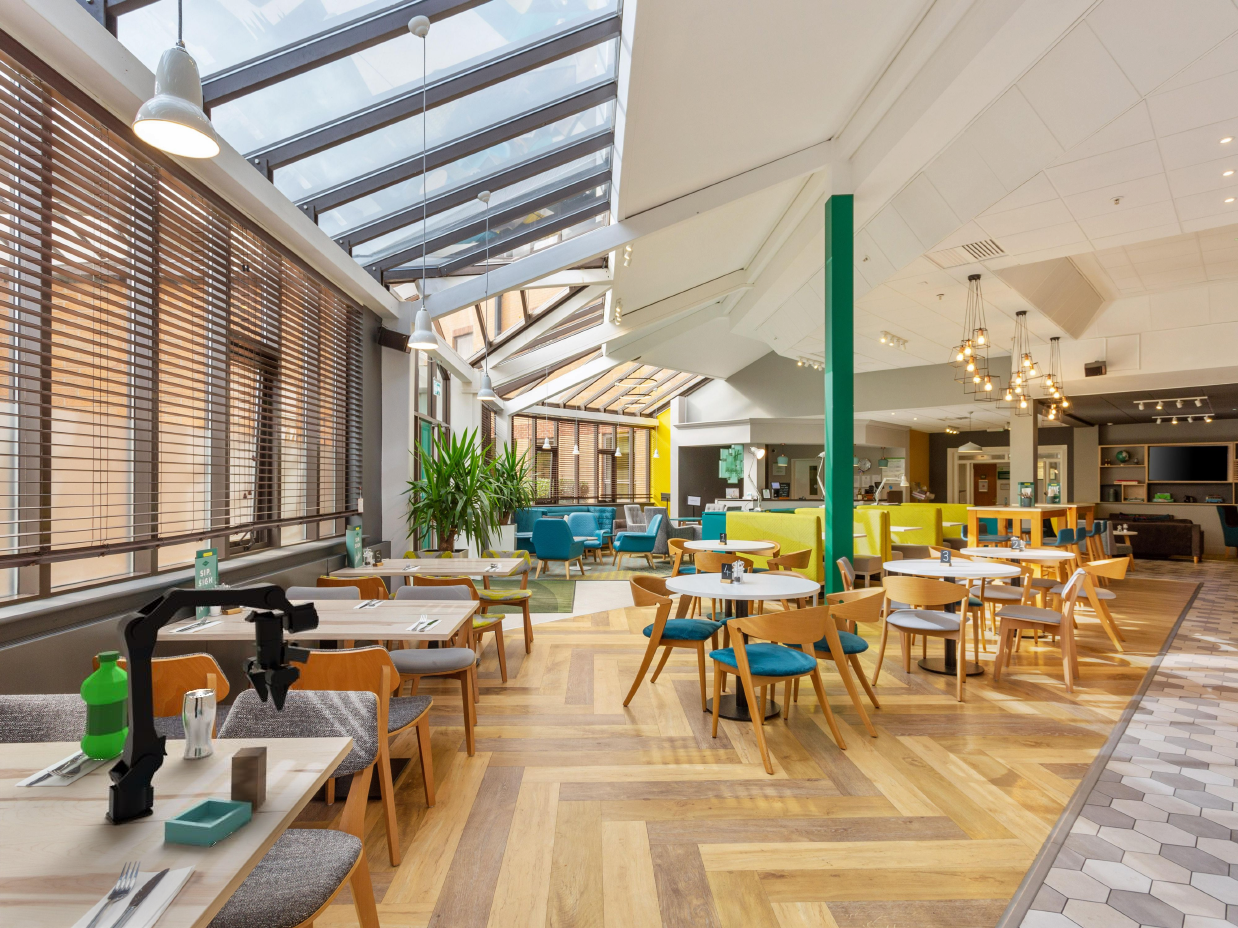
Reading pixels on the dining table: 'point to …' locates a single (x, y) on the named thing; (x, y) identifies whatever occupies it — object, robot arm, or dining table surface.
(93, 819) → the dining table surface
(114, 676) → the plastic bottle
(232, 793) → the walnut post
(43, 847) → the dining table surface
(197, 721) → the beer glass
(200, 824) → the teal tray
